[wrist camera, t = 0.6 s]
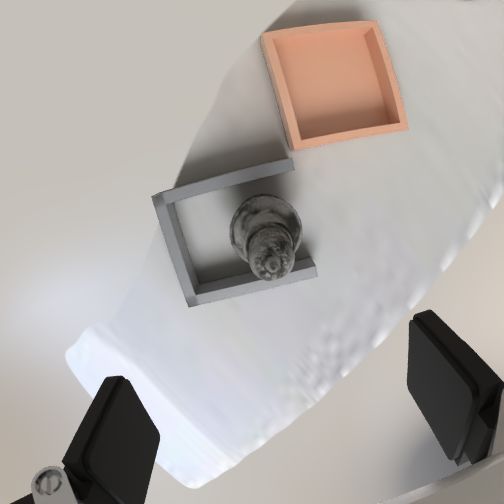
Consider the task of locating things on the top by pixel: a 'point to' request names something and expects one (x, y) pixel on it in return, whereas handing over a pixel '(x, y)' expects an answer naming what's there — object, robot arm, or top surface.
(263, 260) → the chess piece
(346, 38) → the dish
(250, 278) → the cubby
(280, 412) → the top surface
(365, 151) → the top surface
